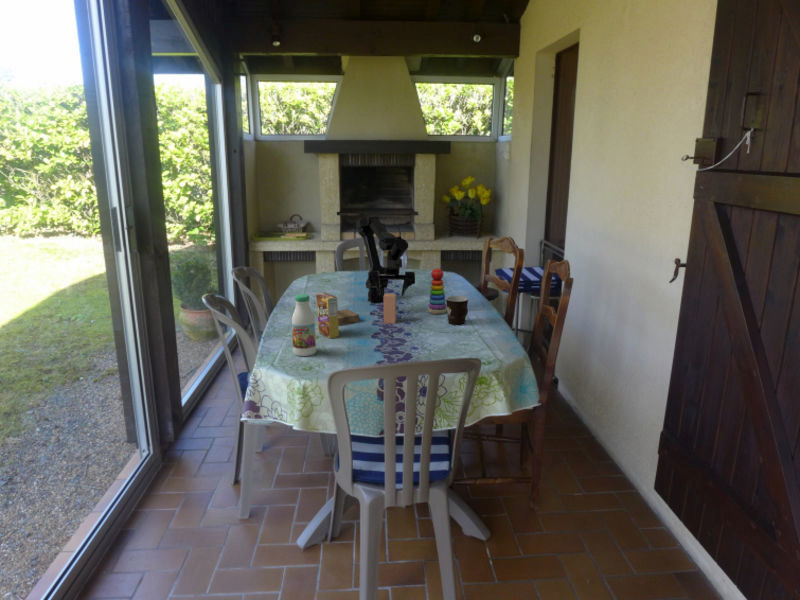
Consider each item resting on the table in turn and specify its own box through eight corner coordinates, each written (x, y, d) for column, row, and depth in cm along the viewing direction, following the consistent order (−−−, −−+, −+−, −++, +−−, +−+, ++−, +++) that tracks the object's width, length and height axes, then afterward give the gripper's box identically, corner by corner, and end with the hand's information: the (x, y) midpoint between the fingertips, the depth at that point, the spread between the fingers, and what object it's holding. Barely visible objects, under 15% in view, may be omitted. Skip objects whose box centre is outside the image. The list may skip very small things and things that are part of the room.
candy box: (317, 333, 208) (315, 293, 204) (327, 330, 210) (325, 291, 206) (329, 339, 201) (327, 298, 197) (339, 336, 203) (338, 296, 200)
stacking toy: (448, 310, 237) (449, 267, 232) (444, 315, 230) (444, 271, 225) (431, 308, 240) (431, 266, 235) (425, 313, 232) (426, 269, 227)
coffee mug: (445, 319, 224) (445, 295, 221) (466, 320, 223) (467, 295, 221) (446, 328, 212) (447, 303, 210) (469, 328, 212) (469, 303, 210)
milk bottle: (294, 349, 191) (291, 292, 185) (317, 348, 191) (314, 292, 186) (292, 357, 183) (288, 298, 178) (315, 356, 184) (313, 298, 179)
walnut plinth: (347, 316, 229) (347, 309, 229) (359, 321, 221) (358, 314, 221) (325, 319, 224) (325, 312, 223) (336, 326, 216) (336, 318, 215)
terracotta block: (385, 319, 224) (384, 293, 221) (396, 320, 224) (396, 293, 221) (383, 323, 220) (383, 296, 217) (395, 323, 219) (394, 296, 216)
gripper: (368, 251, 224) (365, 284, 216) (414, 251, 222) (413, 284, 214) (371, 266, 233) (368, 298, 225) (415, 267, 232) (414, 299, 224)
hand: (390, 295), depth 222 cm, fingers open, 9 cm apart
